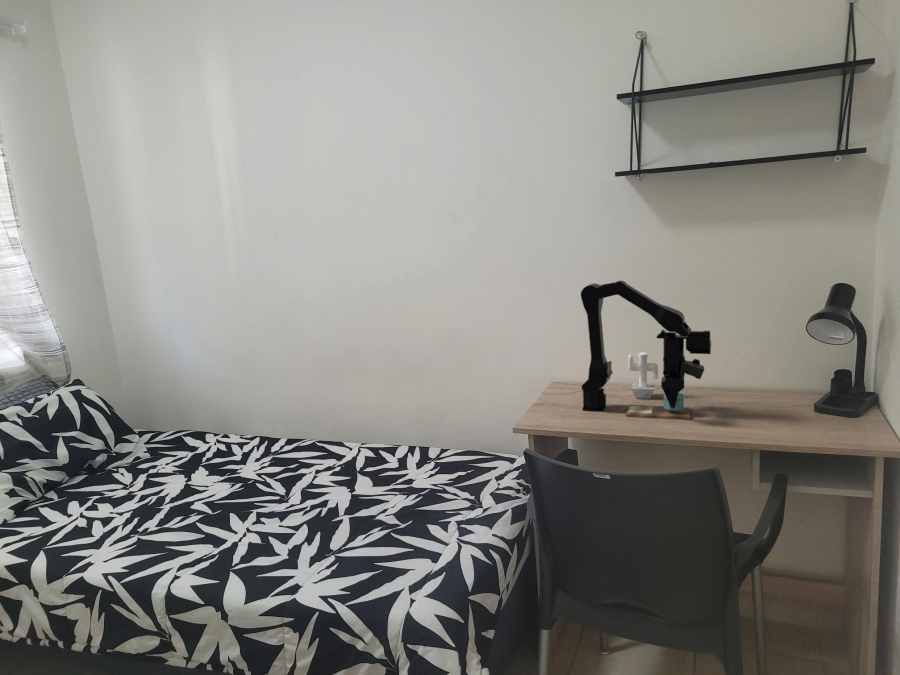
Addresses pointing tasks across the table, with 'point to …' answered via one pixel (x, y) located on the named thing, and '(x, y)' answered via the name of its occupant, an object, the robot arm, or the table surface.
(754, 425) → the table surface
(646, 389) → the figurine
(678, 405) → the cap
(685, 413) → the board
